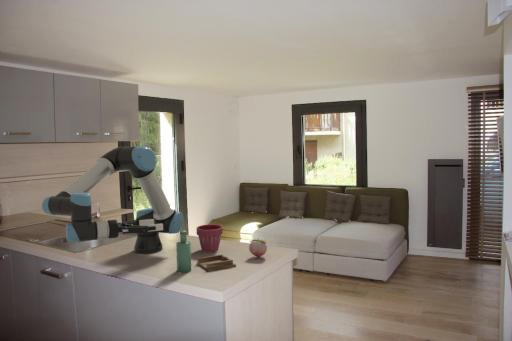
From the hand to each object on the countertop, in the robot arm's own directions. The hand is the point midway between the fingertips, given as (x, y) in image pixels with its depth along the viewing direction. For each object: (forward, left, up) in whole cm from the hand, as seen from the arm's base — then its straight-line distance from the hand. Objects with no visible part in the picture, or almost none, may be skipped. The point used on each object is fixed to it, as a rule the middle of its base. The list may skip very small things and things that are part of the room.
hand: (158, 224), depth 177 cm
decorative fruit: (-2, +52, -23) cm, 56 cm away
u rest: (-1, +28, -23) cm, 36 cm away
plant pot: (-29, +37, -23) cm, 52 cm away
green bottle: (-1, +12, -23) cm, 26 cm away
